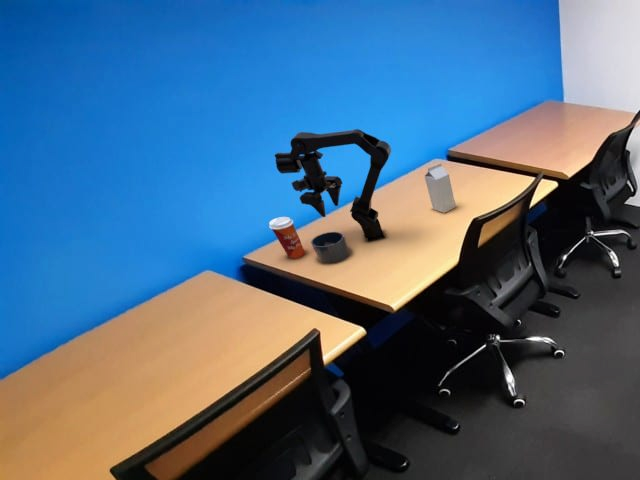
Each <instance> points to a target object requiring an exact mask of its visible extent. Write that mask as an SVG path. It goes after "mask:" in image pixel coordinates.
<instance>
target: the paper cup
mask: <svg viewBox="0 0 640 480" xmlns="http://www.w3.org/2000/svg"><path fill="white" fill-rule="evenodd" d="M268 224H269V229H271V230H272V232H273V233H274V235H275V237H276V238H277V240H278V243H280V245H281V247H282V249H283V250H284V252H285V254H286V255H287V257H288V258H290V259H298V258H301V257H303V256H305V254H306V252H305V249H304V246H303V244H302V242H301V239H300V237H299V235H298V232H297V229H296V227H295V225H294V220H293V219H292V218H290V217H288V216H279V217H275V218H273V219H272V220H270V221H269V223H268Z"/></svg>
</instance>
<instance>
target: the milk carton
mask: <svg viewBox="0 0 640 480" xmlns="http://www.w3.org/2000/svg"><path fill="white" fill-rule="evenodd" d="M427 170H428V171H427V172H426V174H425V175H424V179H425V184H426V187H427V191H428V196H429V200H430V204H431V208H432V210H435V211H437V212H439V213H443V214H445V213H447V212H449V211H451V210H453V209H455V208H456V207H457V206H456V201H455V196H454V192H453V186H452V183H451V178H450V174H449V172H448V171H447V170H446V169H445V168H444V167H443V164H442V163H441V162H439V163H437V164H434V165H432V166H430V167H427Z"/></svg>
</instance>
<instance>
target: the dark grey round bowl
mask: <svg viewBox="0 0 640 480" xmlns="http://www.w3.org/2000/svg"><path fill="white" fill-rule="evenodd" d="M325 243H335V244H332V245H328V246H324V245H325ZM310 244H311V246H312V248H313V251H314V253H315V255H316V257H317V259H318V261H319V262H320V263H323V264H335V263H339V262H342V261H344V260H346V259H347V258H348V257H350V255H351V250H350V248H349V245H348V243H347V241H346V238H345V236H344V234H343V233H342V232H338V231H329V232H323V233H321V234H318V235H316V236H315V237H313V238H312V239H311V241H310Z"/></svg>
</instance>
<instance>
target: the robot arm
mask: <svg viewBox="0 0 640 480" xmlns="http://www.w3.org/2000/svg"><path fill="white" fill-rule="evenodd" d="M347 145H357V146H358V147H359V148H360V149H361V150H362V151H363V152H364V153H366V154H367V155H369V156H370V159H369V160H370V161H369V165H370V166H369V169H368V173H367V175H366V178H365V181H364V185H363V188H362V191H361V194H360V196H357V195H356V196H355V197H354V199H353V201H352V206H351V208H350V210H349V212H350V216H351V218H352V219H353V220H354V221H355V222H357V224H358V225H359V226H360V227H361V231H362V232H363V235H364V238H365V239H366V240H367V242H371V241H375V240H379V239H384V238H385V236H386V235H385V234H384V231H383V228H382V226H381V222H380V220H379V211H377V210H376V209H374V208H372V199H373V195H374V192H375V189H376V187H377V183H378V181H379V177H380V174H381V172H382V170H383V168H384V166H385V165H386V164H387V162H388V160H389V158H390V155H391V153H392V147H391V145H390V144H389V143H388V142H386V141H385V140H381V139H379V138H377V136H376V137H375V136H373V135H371V134H369V133H366V132H365V131H363V130H361V129H359V128H355V129H352V130H343V131H336V132H335V131H334V132H328V133H315V132H306V131H300V132H298V133H296V134H295V135H294V136H293V138H292V139H291V140H290V148H291V150H290V152H276V153H275V154H274V157H275V165H276V166H275V167H276V169H277V171H278V172H279V173H280V174H296V173H300V172H301V170H303V172H304V174H305V175H303V177H302V178H301V179H299V180H298V179H296V180H293V181H292V182H291V186H292V188H293V190H294V191H295V192H299V193H301V192H303V191H305V190H307V191H305V192H303V193H302V194H301V195H300V196H299V198H298V199H299V201H300V203H301V204H302V205H306V206H307V205H309V206H311V207H312V208H313V209H314V210H315V211H316V212H317V213H318V214H319V215H320V216H321V217H322V218H326V215H327V214H326V206H325V201H324V199H323V197H322V194H323V193H325V192H327V193H328V195H329V197H330V200H331V202H332V204H333V206H334V207H338V206H339V201H340V193H341V189H342V185H343V181H342V179H341V178H340V177H339V175H338V176H335V175H332V176H331V175H327V174H328V173H327V171H325V170H323V168H322V165H321V163H320V160H321V159H322V158H323V156H324V154H323V153H321V152H320V151H318V150H320V149H324V148H331V147H332V148H333V147H340V146H347Z"/></svg>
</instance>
